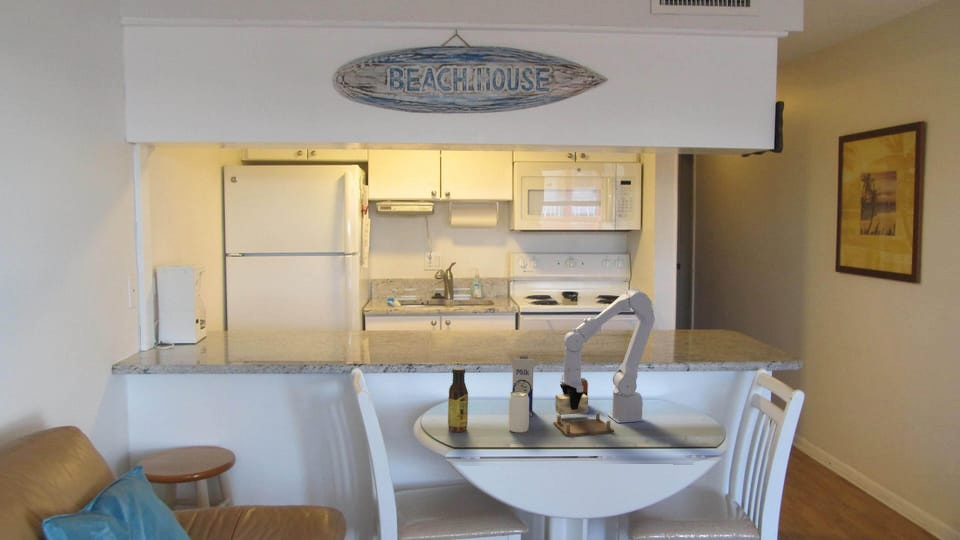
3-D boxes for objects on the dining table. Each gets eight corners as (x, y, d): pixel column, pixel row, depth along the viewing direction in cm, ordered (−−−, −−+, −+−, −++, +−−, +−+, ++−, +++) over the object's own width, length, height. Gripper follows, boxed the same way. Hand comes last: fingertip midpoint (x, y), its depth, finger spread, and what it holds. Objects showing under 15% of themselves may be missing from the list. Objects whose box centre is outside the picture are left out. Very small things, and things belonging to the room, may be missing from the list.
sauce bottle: (463, 434, 194) (463, 372, 192) (444, 431, 196) (445, 370, 194) (470, 427, 200) (471, 367, 198) (452, 424, 202) (453, 365, 200)
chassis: (599, 420, 208) (599, 411, 207) (614, 432, 197) (614, 422, 197) (553, 424, 204) (553, 414, 204) (565, 436, 193) (565, 426, 193)
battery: (587, 408, 221) (588, 380, 220) (568, 407, 222) (568, 379, 221) (586, 404, 225) (587, 377, 224) (567, 403, 226) (568, 376, 225)
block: (582, 408, 214) (583, 393, 213) (587, 412, 209) (588, 396, 209) (555, 410, 211) (555, 394, 211) (559, 414, 207) (560, 398, 207)
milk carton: (511, 415, 211) (512, 358, 209) (512, 409, 218) (513, 353, 216) (532, 416, 211) (533, 359, 209) (532, 410, 217) (534, 354, 215)
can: (514, 434, 194) (515, 397, 193) (504, 428, 200) (505, 391, 199) (532, 431, 197) (533, 394, 196) (521, 424, 203) (522, 389, 202)
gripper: (553, 363, 215) (552, 401, 216) (569, 374, 201) (568, 414, 202) (572, 362, 217) (571, 399, 218) (589, 373, 203) (588, 413, 204)
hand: (571, 407), depth 210 cm, fingers closed on block, 4 cm apart
